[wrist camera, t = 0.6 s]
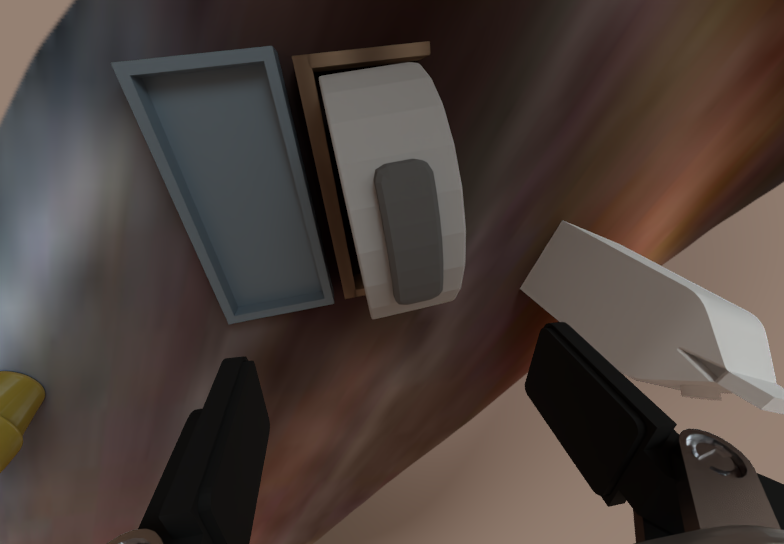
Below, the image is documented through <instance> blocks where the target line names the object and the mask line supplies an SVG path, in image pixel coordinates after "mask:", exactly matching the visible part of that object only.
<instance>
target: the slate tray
mask: <svg viewBox="0 0 784 544" xmlns="http://www.w3.org/2000/svg"><path fill="white" fill-rule="evenodd" d="M111 65H112V67H113V69H114V72H115V74H116V76H117V78H118V80H119V83H120V85H121V87H122V89H123V92H124V94H125V96H126V98H127V100H128V103H129V105H130V107H131V109H132V111H133V114H134V116H135V118H136V120H137V123H138V125H139V127H140V129H141V131H142V134H143V136H144V138H145V140H146V142H147V145H148V147H149V149H150V151H151V154H152V156H153V158H154V160H155V162H156V165H157V167H158V169H159V171H160V173H161V176H162V178H163V180H164V182H165V185H166V187H167V189H168V191H169V193H170V196H171V198H172V200H173V202H174V204H175V207H176V209H177V211H178V213H179V215H180V218H181V220H182V222H183V224H184V227H185V229H186V231H187V233H188V235H189V238H190V240H191V242H192V244H193V246H194V249H195V251H196V253H197V255H198V258H199V260H200V262H201V264H202V266H203V269H204V271H205V273H206V275H207V277H208V280H209V282H210V284H211V286H212V289H213V291H214V293H215V295H216V297H217V300H218V302H219V304H220V306H221V308H222V311H223V313H224V315H225V317H226V320H227V322H228V324H233V323H238V322H244V321H249V320H254V319H259V318H264V317H269V316H274V315H279V314H285V313H290V312H295V311H300V310H305V309H310V308H315V307H321V306H326V305H331V304H334V290H333V286H332V282H331V277H330V273H329V269H328V265H327V261H326V256H325V252H324V248H323V244H322V239H321V235H320V231H319V227H318V223H317V218H316V214H315V210H314V206H313V201H312V197H311V193H310V189H309V185H308V180H307V176H306V172H305V168H304V163H303V159H302V155H301V151H300V146H299V142H298V138H297V134H296V130H295V125H294V121H293V117H292V113H291V108H290V104H289V100H288V96H287V92H286V87H285V83H284V79H283V75H282V70H281V66H280V62H279V58H278V54H277V51H276V50H275V48H274V47H273V46H265V47H256V48H246V49H237V50H227V51H218V52H208V53H198V54H189V55H179V56H170V57H160V58H151V59H141V60H132V61H122V62H112V63H111Z"/></svg>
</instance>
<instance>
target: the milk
mask: <svg viewBox="0 0 784 544" xmlns="http://www.w3.org/2000/svg"><path fill="white" fill-rule="evenodd" d="M520 289H521V290H522V291H523V292H524V293H525V294H527V295H528V296H529V297H530V298H531V299H533V300H534V301H535V302H536V303H537V304H539V305H540V306H541V307H542V308H543V309H545V310H546V311H547V312H548V313H549V314H551V315H552V316H553V317H554V318H555V319H557V320H558V321H559V322H566V323H567V324H568V325H570V326H571V327H572V328H573V329H574V330H575V331H576V332H577V333H578V334H579V335H580V336H581V337H583V338H584V339H585V340H586V341H587V342H588V343H589V344H590V345H591V346H592V347H593V348H594V349H596V350H597V351H598V352H599V353H600V354H601V355H602V356H603V357H604V358H605V359H606V360H608V361H609V362H610V363H611V364H612V365H613V366H614V367H615V368H616V369H617V370H618V371H620V372H621V373H623V374H625V375H627V376H629V377H631V378H632V379H634V380H636V381H641V382H646V383H650V384H654V385H659V386H664V387H668V388H673V389H678V390H681V395H682V396H684V397H690V398H699V399H707V400H721V395H720V393H734V394H736V395H737V396H739V397H741V398H742V399H744V400H746V401H747V402H749V403H751V404H753V405H754V406H756V407H758V408H759V409H761V410H766V411H770V412H775V413H779V414H784V388H782V387H781V386H779V385H778V384H776V378H775V373H774V368H773V363H772V358H771V354H770V349H769V344H768V340H767V336H766V332H765V329H764V327H763V325H762V323H761V322H760V320H759V319H758V318H757V317H756V316H755V315H753V314H751V313H750V312H748V311H747V310H745V309H743V308H740V307H739V306H737V305H735V304H733V303H731V302H729V301H727V300H726V299H724V298H722V297H720V296H718V295H716V294H714V293H712V292H710V291H708V290H706V289H704V288H702V287H701V286H699V285H697V284H694V283H693V282H691V281H689V280H687V279H685V278H683V277H681V276H679V275H678V274H676V273H674V272H672V271H670V270H668V269H666V268H664V267H662V266H660V265H659V264H657V263H655V262H653V261H651V260H649V259H647V258H645V257H643V256H641V255H639V254H637V253H636V252H634V251H632V250H630V249H628V248H626V247H624V246H622V245H620V244H618V243H615V242H613V241H611V240H608V239H606V238H604V237H601V236H599V235H596V234H594V233H592V232H589V231H587V230H585V229H582V228H580V227H577V226H575V225H573V224H570V223H568V222H565V221H563V220H562V222H561V223H560V225H559V226H558V228H557V230H556V231H555V233H554V234H553V236H552V238H551V239H550V241H549V243H548V244H547V246H546V247H545V249H544V251H543V252H542V254H541V255H540V257H539V259H538V260H537V262H536V263H535V265H534V267H533V268H532V270H531V271H530V273H529V275H528V276H527V278H526V280H525V281H524V283H523V284H522V286H521V288H520Z"/></svg>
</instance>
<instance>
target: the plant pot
mask: <svg viewBox="0 0 784 544" xmlns="http://www.w3.org/2000/svg"><path fill="white" fill-rule="evenodd" d="M44 398H45V391H44V388H43V387H42V385H41V384H40V383H39V382H38V381H36V380H35V379H33V378H31V377H29V376H27V375H24V374H21V373H17V372H10V371H0V473H1V472H2V471H3V469H4V468H5V467H6V466H7V465H8V464H9V463H10V461H11V460H12V459H13V458H14V457H15V455H16V454H17V453H18V452H19V450H20V449H21V447H22V444H23V437H22V436H23V434H24V432H25V431H26V429H27V427H28V425H29V424H30V422H31V420H32V418H33V417H34V415H35V413H36V412H37V410H38V408H39V407H40V405H41V404H42V402H43V400H44Z"/></svg>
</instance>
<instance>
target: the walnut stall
mask: <svg viewBox="0 0 784 544" xmlns="http://www.w3.org/2000/svg"><path fill="white" fill-rule="evenodd" d="M428 55H430V41H426V42H417V43H408V44H398V45H389V46H380V47H371V48H362V49H352V50H343V51H334V52H325V53H316V54H306V55H297V56H292V60H293V64H294V69H295V73H296V78H297V83H298V87H299V92H300V96H301V101H302V105H303V110H304V114H305V119H306V124H307V128H308V133H309V137H310V142H311V146H312V151H313V155H314V160H315V165H316V169H317V174H318V178H319V183H320V187H321V192H322V196H323V201H324V206H325V210H326V215H327V219H328V224H329V228H330V233H331V237H332V242H333V247H334V251H335V256H336V260H337V265H338V269H339V274H340V278H341V283H342V288H343V292H344V297H345V299H348V298H353V297H359V296H364V295H366V293H365V289H364V284H363V280H362V276H361V274H355V275H353V271H352V266H351V260H350V255H349V250H348V245H347V240H346V235H345V230H344V225H343V220H342V215H341V209H340V204H339V199H338V194H337V189H336V184H335V179H334V174H333V169H332V163H331V158H330V153H329V148H328V143H327V138H326V133H325V128H324V123H323V118H322V112H321V107H320V102H319V97H318V92H317V87H316V82H315V77H314V72H322V71H331V70H339V69H348V68H357V67H366V66H374V65H383V64H392V63H400V62H409V61H418V60H421V59H423V58H425V57H427V56H428Z"/></svg>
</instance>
